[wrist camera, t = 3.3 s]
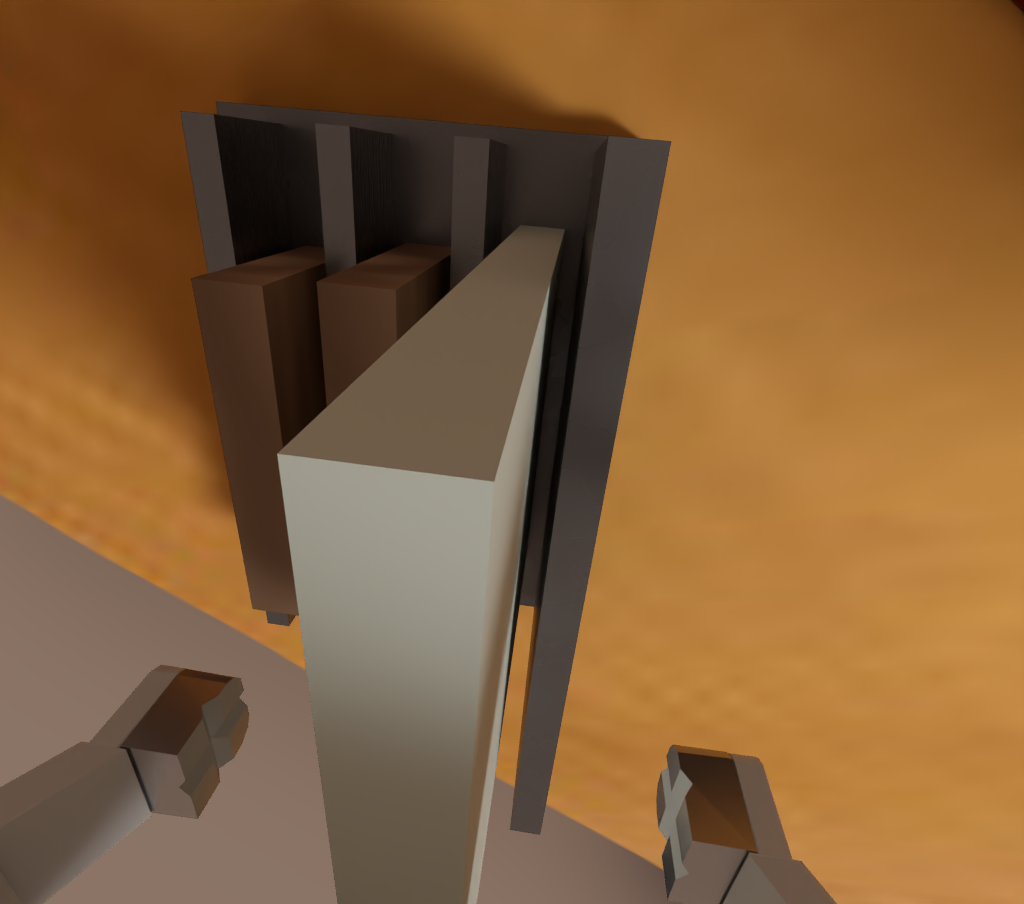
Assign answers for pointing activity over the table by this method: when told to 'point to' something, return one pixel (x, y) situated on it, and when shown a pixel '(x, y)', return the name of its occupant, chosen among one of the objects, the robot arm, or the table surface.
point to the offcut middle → (376, 307)
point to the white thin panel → (422, 575)
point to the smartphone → (1019, 3)
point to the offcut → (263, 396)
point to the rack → (472, 237)
